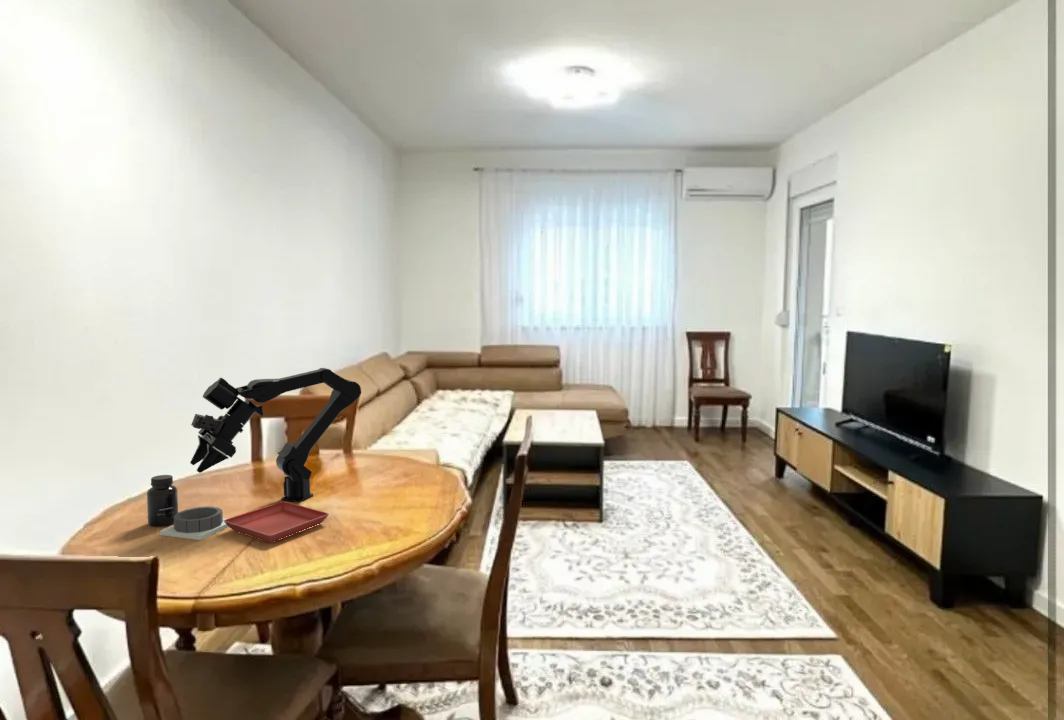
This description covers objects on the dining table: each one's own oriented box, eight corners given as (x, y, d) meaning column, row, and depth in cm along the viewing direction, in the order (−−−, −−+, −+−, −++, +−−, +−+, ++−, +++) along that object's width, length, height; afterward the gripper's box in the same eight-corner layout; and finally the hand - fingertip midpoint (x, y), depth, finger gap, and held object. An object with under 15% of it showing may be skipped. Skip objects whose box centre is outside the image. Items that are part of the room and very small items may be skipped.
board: (236, 523, 166) (236, 519, 166) (200, 540, 154) (200, 536, 154) (197, 518, 169) (197, 514, 169) (159, 534, 158) (159, 530, 158)
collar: (231, 520, 165) (231, 508, 165) (200, 534, 155) (199, 522, 155) (197, 516, 168) (197, 504, 168) (164, 530, 158) (164, 518, 158)
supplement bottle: (165, 528, 162) (162, 481, 161) (141, 526, 163) (139, 479, 162) (184, 519, 169) (182, 474, 167) (162, 517, 170) (159, 472, 169)
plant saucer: (330, 525, 166) (330, 512, 166) (270, 548, 151) (270, 534, 150) (283, 512, 175) (283, 500, 175) (222, 533, 160) (221, 520, 160)
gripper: (202, 397, 178) (162, 444, 173) (217, 407, 163) (173, 458, 158) (236, 420, 184) (198, 466, 179) (253, 431, 169) (212, 482, 164)
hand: (194, 467), depth 170 cm, fingers open, 9 cm apart
